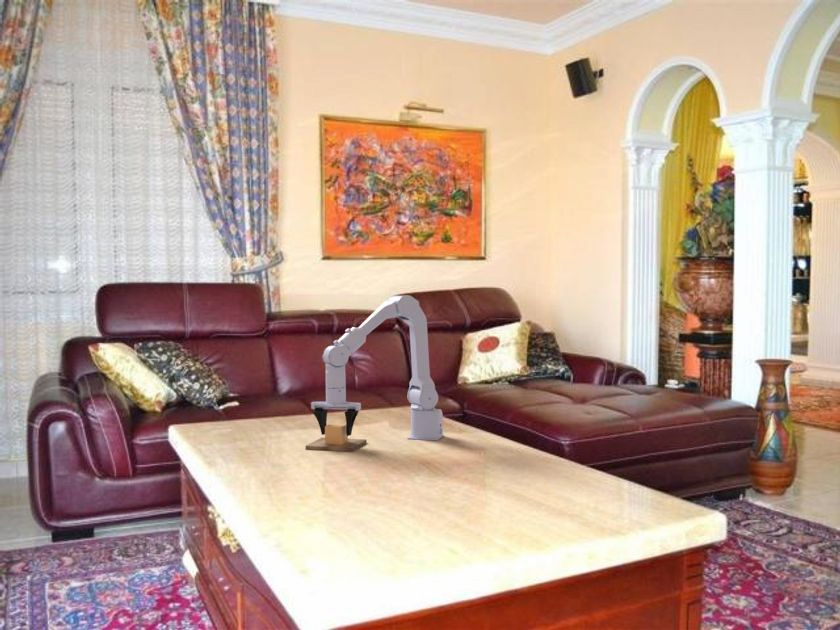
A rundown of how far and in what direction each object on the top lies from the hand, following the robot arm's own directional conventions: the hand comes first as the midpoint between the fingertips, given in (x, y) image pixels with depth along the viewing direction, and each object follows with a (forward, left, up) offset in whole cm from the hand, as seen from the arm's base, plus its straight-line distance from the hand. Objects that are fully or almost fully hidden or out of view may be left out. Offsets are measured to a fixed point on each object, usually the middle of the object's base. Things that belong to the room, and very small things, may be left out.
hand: (336, 434), depth 213 cm
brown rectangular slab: (0, 0, -3) cm, 3 cm away
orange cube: (0, 0, -2) cm, 2 cm away
